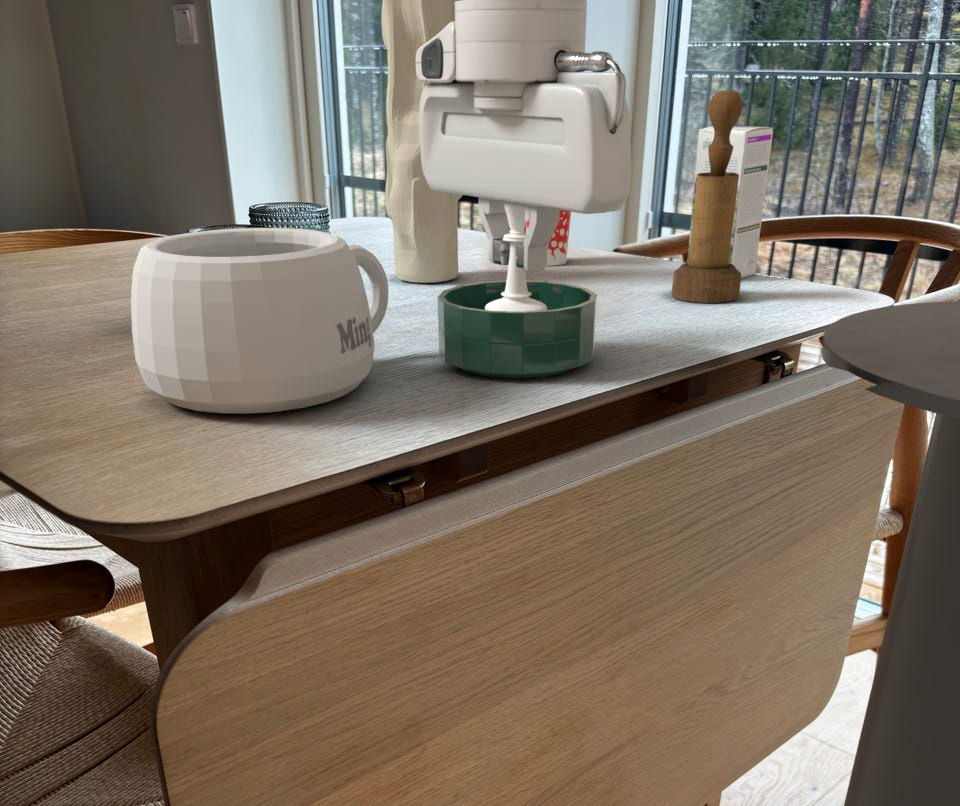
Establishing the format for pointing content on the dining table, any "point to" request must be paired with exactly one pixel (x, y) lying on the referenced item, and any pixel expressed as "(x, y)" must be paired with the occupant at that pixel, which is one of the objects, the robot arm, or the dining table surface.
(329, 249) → the mug
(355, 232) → the dining table surface
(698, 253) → the mortar and pestle
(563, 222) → the beverage cup
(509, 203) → the chess piece
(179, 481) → the dining table surface
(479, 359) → the green round bowl
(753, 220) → the syrup box
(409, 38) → the vase
